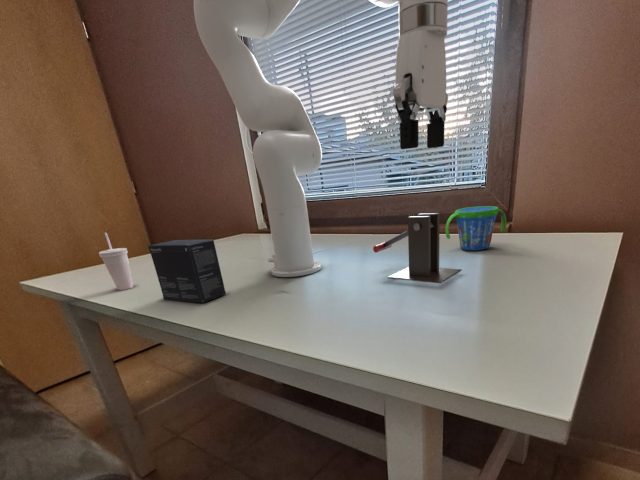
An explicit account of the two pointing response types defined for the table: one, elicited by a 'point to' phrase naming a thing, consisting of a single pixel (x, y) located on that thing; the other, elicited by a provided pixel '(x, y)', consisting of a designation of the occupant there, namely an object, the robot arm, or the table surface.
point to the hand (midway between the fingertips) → (423, 147)
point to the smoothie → (117, 266)
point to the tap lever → (393, 240)
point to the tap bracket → (424, 251)
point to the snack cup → (476, 226)
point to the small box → (188, 270)
